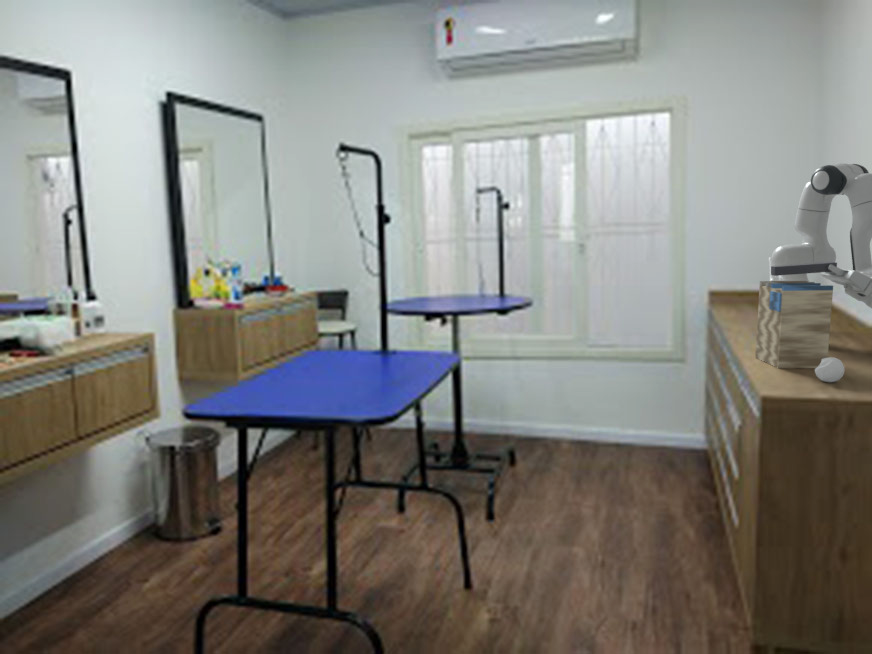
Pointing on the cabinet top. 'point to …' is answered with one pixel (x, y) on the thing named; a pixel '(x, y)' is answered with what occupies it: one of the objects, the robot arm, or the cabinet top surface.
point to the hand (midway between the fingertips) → (825, 265)
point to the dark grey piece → (801, 268)
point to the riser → (793, 323)
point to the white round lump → (830, 370)
